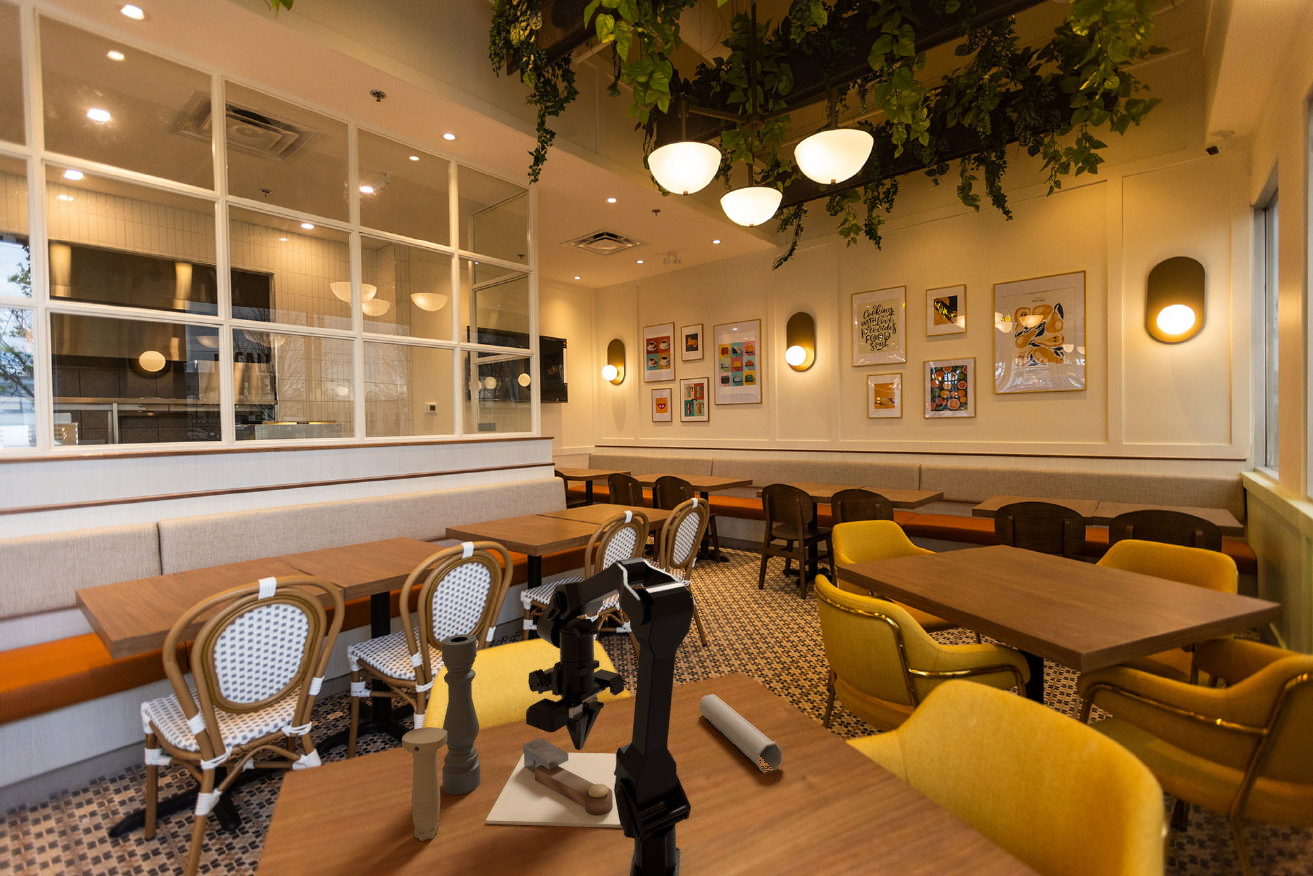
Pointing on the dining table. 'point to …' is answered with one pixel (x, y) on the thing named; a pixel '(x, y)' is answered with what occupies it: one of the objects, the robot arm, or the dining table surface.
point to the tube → (741, 732)
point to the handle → (425, 778)
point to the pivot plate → (557, 795)
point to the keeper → (542, 754)
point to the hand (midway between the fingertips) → (578, 748)
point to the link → (574, 789)
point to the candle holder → (460, 716)
